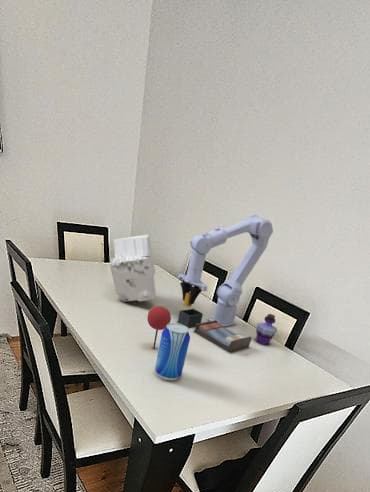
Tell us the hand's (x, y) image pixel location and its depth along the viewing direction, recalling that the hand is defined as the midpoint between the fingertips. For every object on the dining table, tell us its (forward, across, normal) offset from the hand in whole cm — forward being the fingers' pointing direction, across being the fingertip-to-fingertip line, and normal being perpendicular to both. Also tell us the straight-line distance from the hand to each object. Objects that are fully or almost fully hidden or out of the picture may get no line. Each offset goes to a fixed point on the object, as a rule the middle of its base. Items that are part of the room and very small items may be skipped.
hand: (188, 302), depth 156 cm
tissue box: (+8, -27, -8) cm, 30 cm away
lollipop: (+8, +15, -29) cm, 34 cm away
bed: (+8, +19, +3) cm, 21 cm away
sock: (+1, 0, 0) cm, 1 cm away
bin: (+8, +3, +1) cm, 9 cm away
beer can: (+8, +31, -37) cm, 49 cm away
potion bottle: (+9, +27, +20) cm, 35 cm away
